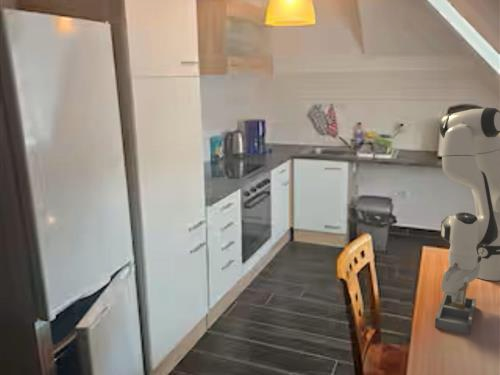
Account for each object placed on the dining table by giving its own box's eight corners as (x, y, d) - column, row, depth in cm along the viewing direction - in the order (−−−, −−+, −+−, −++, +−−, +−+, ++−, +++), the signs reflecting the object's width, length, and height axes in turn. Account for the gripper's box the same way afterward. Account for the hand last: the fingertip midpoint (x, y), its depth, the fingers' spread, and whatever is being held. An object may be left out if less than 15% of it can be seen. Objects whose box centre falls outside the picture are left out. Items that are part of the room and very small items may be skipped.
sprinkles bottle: (467, 310, 166) (470, 275, 163) (459, 314, 163) (462, 278, 160) (455, 305, 170) (458, 270, 166) (447, 309, 167) (450, 274, 164)
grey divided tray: (443, 301, 174) (444, 292, 173) (475, 308, 169) (476, 298, 168) (434, 328, 156) (435, 318, 155) (469, 336, 151) (470, 325, 150)
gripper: (456, 271, 153) (452, 310, 157) (484, 254, 166) (480, 290, 169) (437, 266, 158) (434, 303, 161) (466, 249, 171) (463, 285, 174)
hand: (458, 296), depth 165 cm, fingers closed on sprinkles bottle, 4 cm apart
